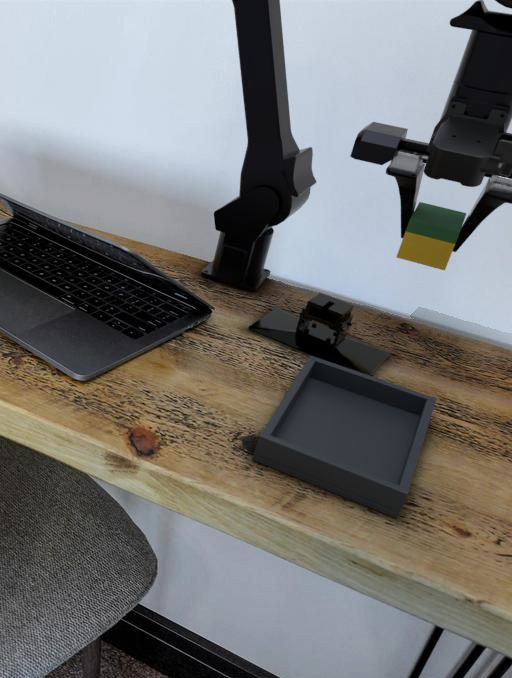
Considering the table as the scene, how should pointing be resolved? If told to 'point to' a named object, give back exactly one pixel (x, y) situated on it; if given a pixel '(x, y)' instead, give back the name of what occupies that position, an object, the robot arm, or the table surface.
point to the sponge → (431, 235)
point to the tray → (348, 434)
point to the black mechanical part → (321, 334)
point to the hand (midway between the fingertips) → (428, 243)
